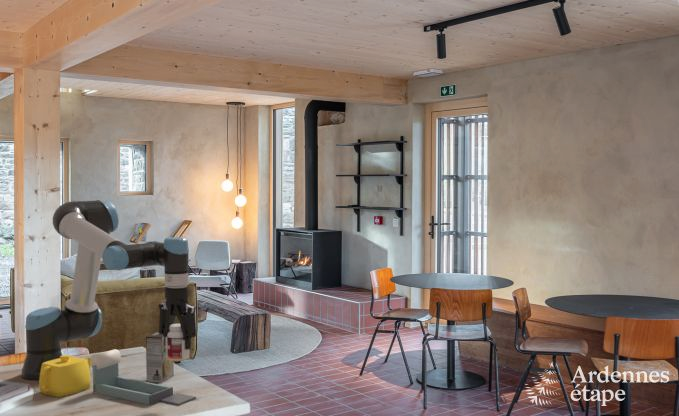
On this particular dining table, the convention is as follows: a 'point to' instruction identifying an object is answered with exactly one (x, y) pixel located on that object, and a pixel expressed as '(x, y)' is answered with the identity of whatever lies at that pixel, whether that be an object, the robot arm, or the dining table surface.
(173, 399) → the coaster
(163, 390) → the teal rectangular frame
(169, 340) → the pill bottle
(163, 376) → the coffee box
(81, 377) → the teapot
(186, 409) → the dining table surface
